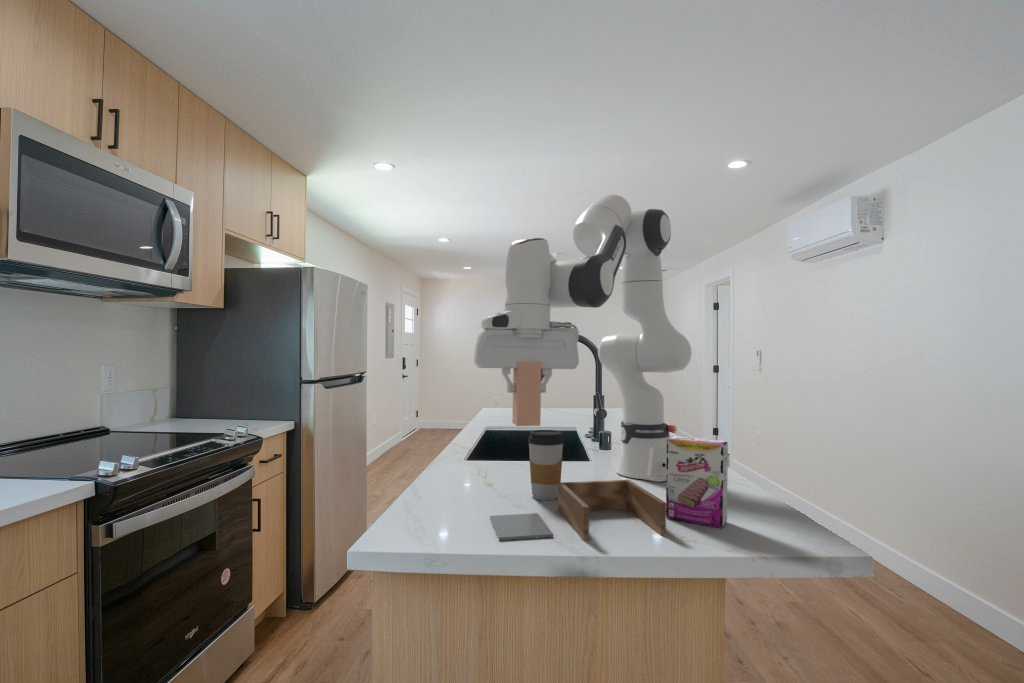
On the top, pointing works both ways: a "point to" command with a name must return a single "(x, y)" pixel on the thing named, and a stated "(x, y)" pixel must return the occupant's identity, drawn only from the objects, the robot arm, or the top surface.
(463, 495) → the top surface
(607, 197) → the robot arm
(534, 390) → the terracotta block
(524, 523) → the slate coaster
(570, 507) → the walnut bay
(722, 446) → the candy bar box
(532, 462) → the coffee cup
